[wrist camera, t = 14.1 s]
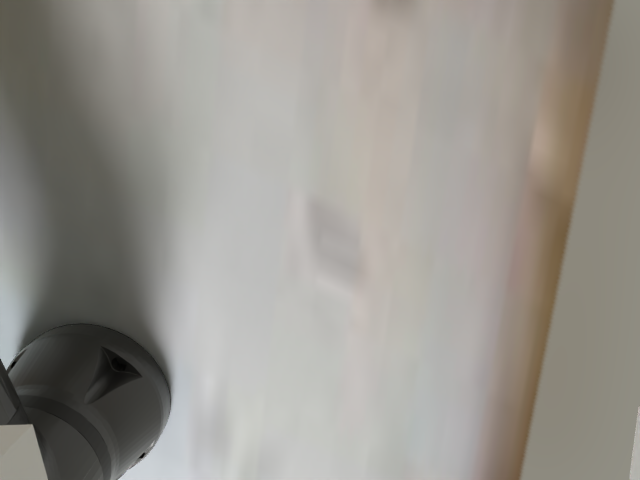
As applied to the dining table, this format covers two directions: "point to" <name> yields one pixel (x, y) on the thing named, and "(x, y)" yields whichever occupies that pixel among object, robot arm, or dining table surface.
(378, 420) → the dining table surface
